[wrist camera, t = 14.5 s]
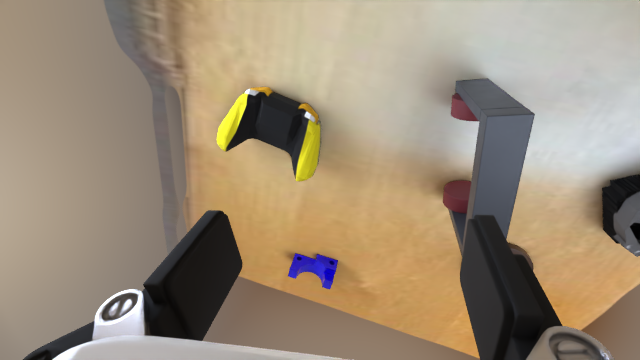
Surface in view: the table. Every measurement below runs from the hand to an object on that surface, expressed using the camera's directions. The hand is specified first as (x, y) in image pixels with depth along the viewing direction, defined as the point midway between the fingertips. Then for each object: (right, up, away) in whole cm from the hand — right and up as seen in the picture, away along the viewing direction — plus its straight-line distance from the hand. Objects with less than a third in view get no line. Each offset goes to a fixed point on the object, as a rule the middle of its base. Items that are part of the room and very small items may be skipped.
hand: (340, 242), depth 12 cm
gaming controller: (-7, +11, +34) cm, 36 cm away
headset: (+19, +7, +30) cm, 36 cm away
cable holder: (-2, -13, +46) cm, 48 cm away
